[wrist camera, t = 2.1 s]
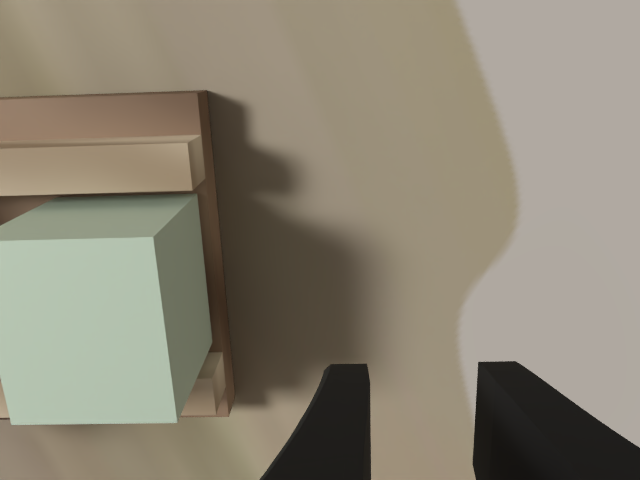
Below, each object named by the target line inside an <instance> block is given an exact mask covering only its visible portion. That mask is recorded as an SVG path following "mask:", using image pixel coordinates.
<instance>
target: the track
mask: <svg viewBox="0 0 640 480" xmlns="http://www.w3.org/2000/svg"><path fill="white" fill-rule="evenodd" d="M165 194H197V197H198V207H199V216H200V226H201V236H202V245H203V255H204V265H205V274H206V284H207V294H208V304H209V313H210V323H211V333H212V344H211V347H210V349H209V351H208V354H207V356H206V358H205V360H204V363H203V365H202V367H201V370H200V372H199V374H198V376H197V379H196V381H195V383H194V386H193V388H192V390H191V393H190V395H189V397H188V399H187V402H186V404H185V406H184V409H183V411H182V413H181V416H180V417H229V414H230V411H231V407H232V404H233V401H234V397H235V388H234V377H233V367H232V356H231V345H230V334H229V323H228V312H227V302H226V291H225V280H224V269H223V258H222V248H221V237H220V226H219V215H218V204H217V194H216V183H215V172H214V161H213V150H212V139H211V129H210V118H209V107H208V96H207V90H202V91H174V92H145V93H116V94H87V95H59V96H30V97H1V98H0V226H1V225H3V224H5V223H6V222H8V221H10V220H12V219H14V218H16V217H18V216H20V215H22V214H24V213H26V212H28V211H30V210H32V209H34V208H36V207H38V206H40V205H42V204H44V203H46V202H48V201H50V200H52V199H54V198H57V197H93V196H129V195H165ZM0 419H10V417H9V412H8V408H7V404H6V400H5V395H4V391H3V387H2V383H1V378H0Z"/></svg>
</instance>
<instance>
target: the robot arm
mask: <svg viewBox="0 0 640 480" xmlns="http://www.w3.org/2000/svg"><path fill="white" fill-rule="evenodd" d="M473 468H474V472H475V477H476V480H640V448H639V447H638V446H636V445H634V444H633V443H631V442H630V441H628V440H627V439H625V438H624V437H622V436H621V435H619V434H618V433H616V432H615V431H613V430H612V429H610V428H609V427H608V426H606V425H605V424H603V423H602V422H600V421H599V420H597V419H596V418H595V417H593V416H592V415H590V414H589V413H588V412H586V411H585V410H583V409H582V408H580V407H579V406H578V405H576V404H575V403H574V402H572V401H571V400H569V399H568V398H567V397H565V396H564V395H563V394H561V393H560V392H558V391H557V390H556V389H554V388H553V387H552V386H550V385H549V384H547V383H546V382H545V381H543V380H542V379H541V378H539V377H538V376H537V375H535V374H534V373H532V372H531V371H529V370H528V369H527V368H525V367H524V366H522V365H521V364H519V363H517V362H515V361H513V362H512V361H510V362H509V361H508V362H478V378H477V396H476V414H475V432H474V450H473ZM260 480H371V438H370V379H369V373H368V367H367V364H331V365H330V366H329V367H327V368H326V369H325V370H324V373H323V377H322V379H321V382H320V384H319V387H318V389H317V391H316V393H315V395H314V397H313V399H312V401H311V403H310V405H309V407H308V408H307V410H306V412H305V413H304V415H303V417H302V418H301V420H300V422H299V423H298V425H297V427H296V428H295V430H294V432H293V433H292V435H291V437H290V438H289V440H288V441H287V443H286V444H285V445H284V447H283V448H282V450H281V451H280V452H279V454H278V455H277V457H276V458H275V459H274V461H273V462H272V464H271V465H270V466H269V468H268V469H267V471H266V472H265V473H264V475H263V476H262V477H261V478H260Z"/></svg>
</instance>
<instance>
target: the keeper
mask: <svg viewBox="0 0 640 480" xmlns="http://www.w3.org/2000/svg"><path fill="white" fill-rule="evenodd" d="M211 344H212V333H211V323H210V313H209V304H208V294H207V284H206V274H205V265H204V255H203V245H202V236H201V226H200V216H199V207H198V197H197V194H165V195H129V196H93V197H57V198H54V199H52V200H50V201H48V202H46V203H44V204H42V205H40V206H38V207H36V208H34V209H32V210H30V211H28V212H26V213H24V214H22V215H20V216H18V217H16V218H14V219H12V220H10V221H8V222H6V223H5V224H3V225H1V226H0V378H1V383H2V387H3V391H4V395H5V400H6V404H7V408H8V412H9V417H10V421H11V425H46V424H127V423H177V422H178V420H179V418H180V416H181V413H182V411H183V409H184V406H185V404H186V402H187V399H188V397H189V395H190V393H191V390H192V388H193V386H194V383H195V381H196V379H197V376H198V374H199V372H200V370H201V367H202V365H203V363H204V360H205V358H206V356H207V354H208V351H209V349H210V347H211Z"/></svg>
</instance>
